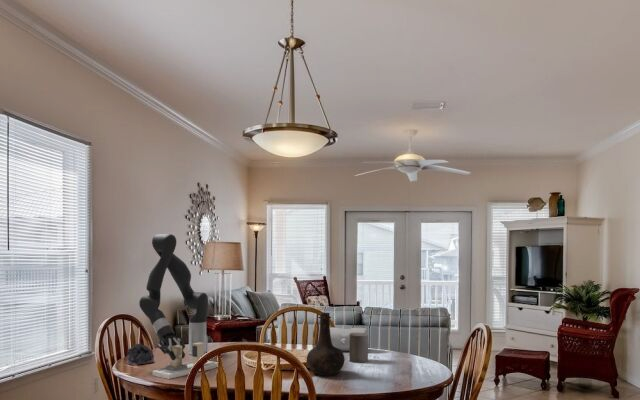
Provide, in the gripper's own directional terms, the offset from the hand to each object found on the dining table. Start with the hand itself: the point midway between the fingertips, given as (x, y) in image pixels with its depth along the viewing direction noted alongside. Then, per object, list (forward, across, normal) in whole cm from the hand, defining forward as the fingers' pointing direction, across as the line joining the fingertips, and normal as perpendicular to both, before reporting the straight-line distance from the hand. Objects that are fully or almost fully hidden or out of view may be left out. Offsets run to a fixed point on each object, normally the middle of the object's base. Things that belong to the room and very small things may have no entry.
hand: (179, 358), depth 269 cm
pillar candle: (+41, +74, -31) cm, 90 cm away
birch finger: (+2, 0, +5) cm, 5 cm away
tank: (+27, +90, -16) cm, 96 cm away
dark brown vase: (+44, +42, -33) cm, 69 cm away
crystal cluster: (-20, +4, +31) cm, 37 cm away
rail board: (+4, +6, +6) cm, 10 cm away
